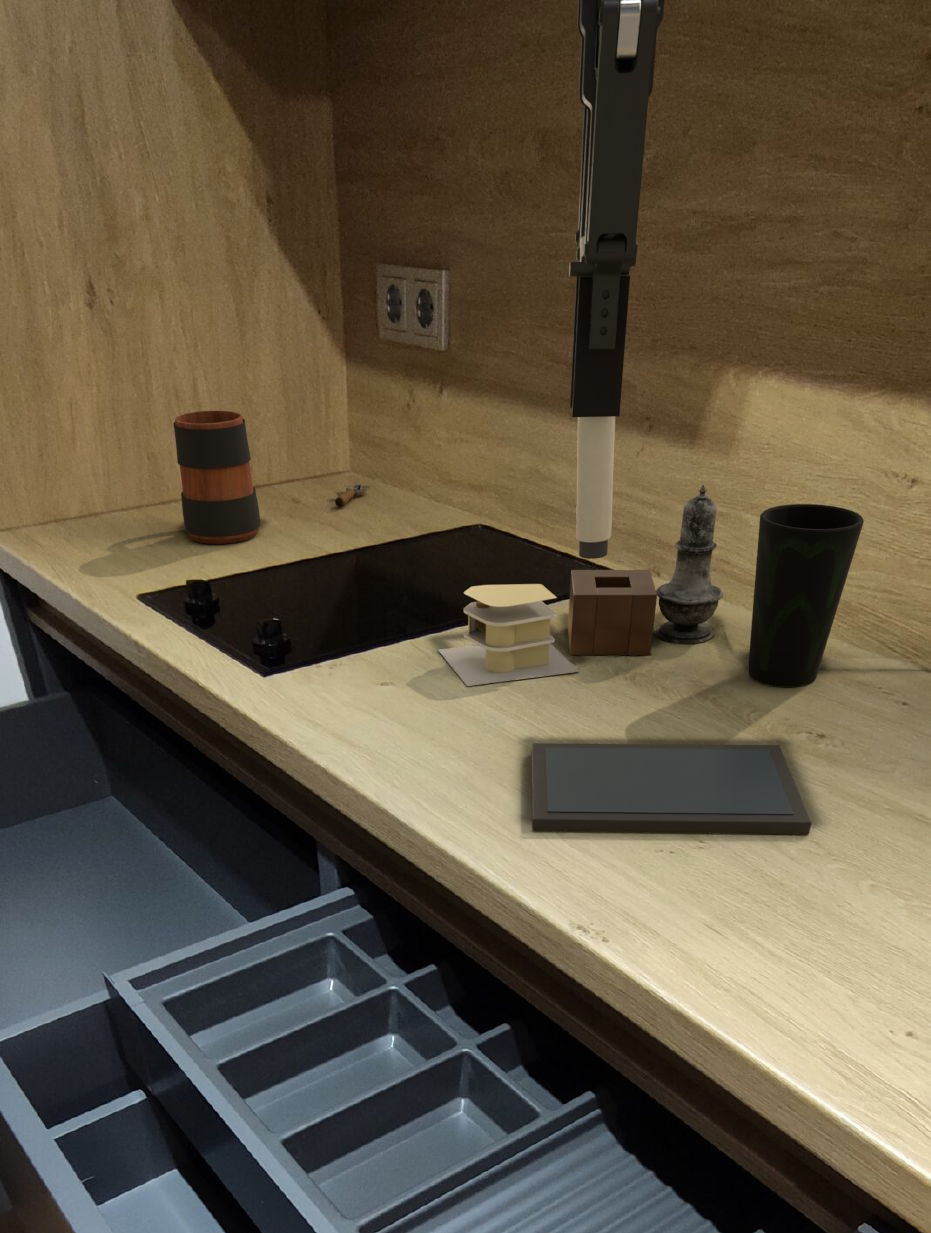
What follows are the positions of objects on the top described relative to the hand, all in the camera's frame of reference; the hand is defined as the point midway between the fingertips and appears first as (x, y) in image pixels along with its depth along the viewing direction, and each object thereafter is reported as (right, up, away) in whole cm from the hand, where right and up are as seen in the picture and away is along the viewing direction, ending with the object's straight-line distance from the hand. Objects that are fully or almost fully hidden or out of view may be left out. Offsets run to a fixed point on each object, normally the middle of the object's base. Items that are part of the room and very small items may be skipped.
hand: (594, 409), depth 65 cm
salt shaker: (+13, +2, +35) cm, 38 cm away
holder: (+6, +1, +34) cm, 35 cm away
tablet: (+6, -19, +12) cm, 23 cm away
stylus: (+1, -6, +5) cm, 8 cm away
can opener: (-20, +35, +73) cm, 83 cm away
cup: (+20, -5, +28) cm, 34 cm away
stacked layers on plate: (-3, -2, +31) cm, 31 cm away
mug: (-34, +26, +64) cm, 77 cm away
